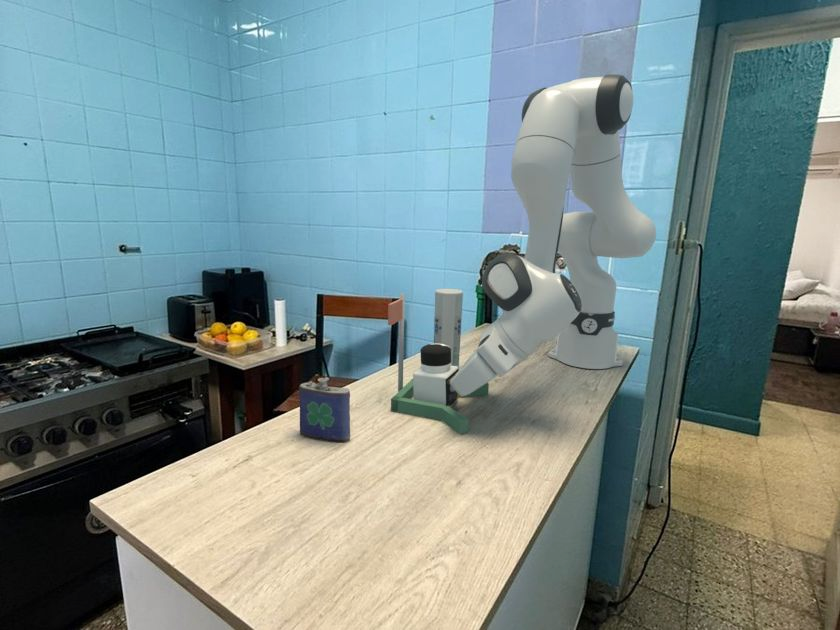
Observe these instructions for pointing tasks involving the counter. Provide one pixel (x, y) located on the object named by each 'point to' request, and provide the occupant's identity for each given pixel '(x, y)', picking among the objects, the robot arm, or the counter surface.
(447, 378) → the medicine bottle
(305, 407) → the flask
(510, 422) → the counter surface
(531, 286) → the robot arm
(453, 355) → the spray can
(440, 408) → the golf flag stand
